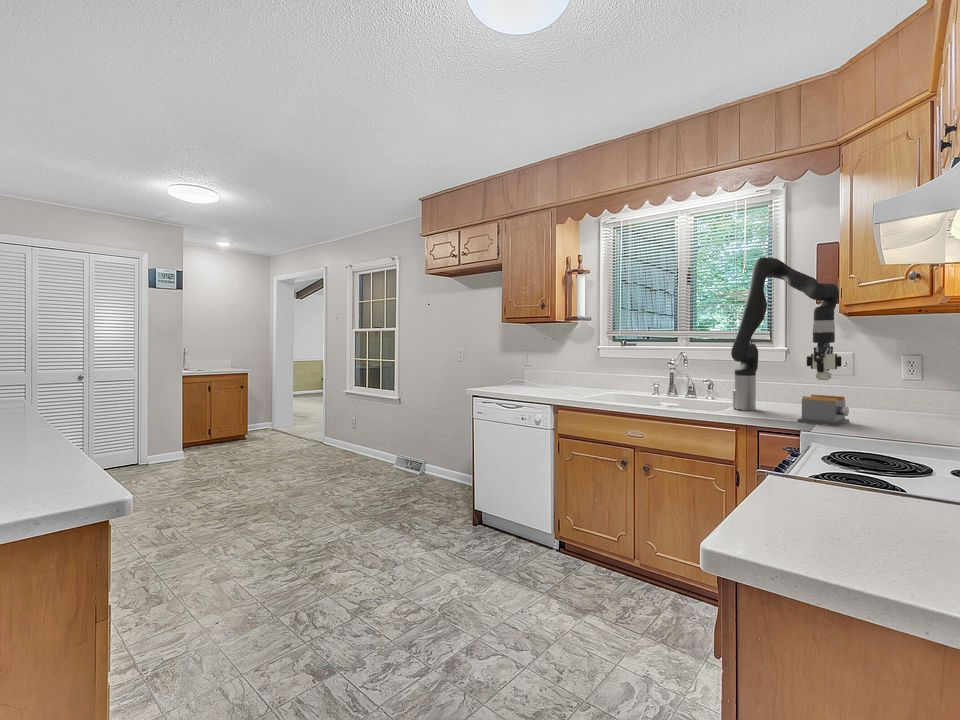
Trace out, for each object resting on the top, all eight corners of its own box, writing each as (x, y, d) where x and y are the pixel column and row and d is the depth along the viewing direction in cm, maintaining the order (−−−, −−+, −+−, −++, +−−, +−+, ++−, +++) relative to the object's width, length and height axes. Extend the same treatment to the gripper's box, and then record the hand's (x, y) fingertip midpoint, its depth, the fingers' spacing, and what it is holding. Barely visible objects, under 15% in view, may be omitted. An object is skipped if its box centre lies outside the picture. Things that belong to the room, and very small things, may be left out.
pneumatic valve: (841, 380, 195) (841, 351, 194) (806, 379, 202) (806, 351, 201) (840, 379, 200) (840, 351, 199) (806, 378, 206) (806, 351, 206)
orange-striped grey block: (797, 421, 203) (797, 396, 202) (810, 418, 211) (811, 393, 211) (840, 426, 190) (841, 399, 190) (853, 422, 198) (853, 396, 198)
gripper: (820, 331, 207) (819, 370, 208) (806, 331, 199) (806, 372, 199) (840, 331, 201) (840, 370, 202) (827, 331, 192) (827, 372, 193)
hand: (823, 371), depth 200 cm, fingers closed on pneumatic valve, 6 cm apart
